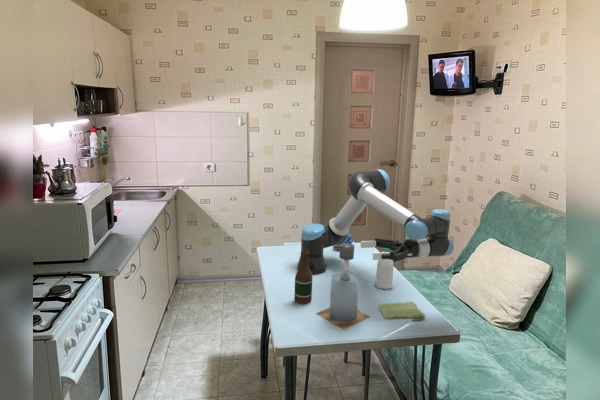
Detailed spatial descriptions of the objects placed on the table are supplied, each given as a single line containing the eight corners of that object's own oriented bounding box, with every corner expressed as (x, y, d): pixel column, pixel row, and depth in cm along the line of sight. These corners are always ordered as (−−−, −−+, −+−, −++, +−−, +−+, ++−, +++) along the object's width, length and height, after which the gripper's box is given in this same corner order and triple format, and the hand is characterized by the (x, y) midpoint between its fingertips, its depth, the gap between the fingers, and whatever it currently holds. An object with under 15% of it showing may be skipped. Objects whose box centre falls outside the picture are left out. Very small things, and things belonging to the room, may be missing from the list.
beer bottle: (305, 308, 180) (307, 255, 175) (290, 303, 184) (292, 251, 179) (314, 301, 187) (317, 250, 181) (300, 297, 191) (301, 246, 185)
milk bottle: (391, 290, 200) (395, 250, 196) (375, 288, 202) (378, 249, 197) (391, 283, 208) (395, 245, 203) (375, 282, 209) (378, 243, 204)
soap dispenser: (324, 313, 174) (326, 273, 170) (342, 305, 181) (344, 266, 177) (343, 324, 166) (346, 282, 162) (362, 316, 173) (364, 275, 169)
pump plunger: (330, 274, 168) (332, 245, 166) (344, 269, 174) (345, 241, 171) (342, 279, 164) (343, 249, 161) (355, 274, 169) (357, 245, 166)
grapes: (351, 249, 255) (352, 229, 252) (352, 252, 248) (354, 233, 245) (332, 248, 255) (333, 229, 252) (332, 252, 248) (334, 232, 245)
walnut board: (315, 316, 174) (315, 313, 174) (341, 304, 185) (341, 302, 185) (344, 332, 163) (344, 329, 163) (370, 319, 174) (370, 316, 173)
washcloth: (375, 308, 184) (375, 301, 183) (413, 306, 186) (414, 300, 185) (384, 323, 171) (385, 316, 170) (426, 322, 174) (427, 314, 173)
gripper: (429, 268, 162) (377, 271, 158) (401, 246, 186) (355, 248, 182) (431, 249, 160) (379, 252, 156) (403, 230, 184) (356, 231, 180)
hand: (366, 250), depth 169 cm, fingers open, 13 cm apart
